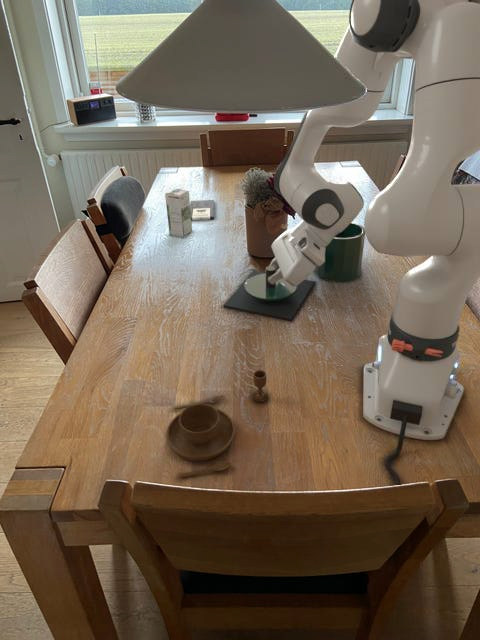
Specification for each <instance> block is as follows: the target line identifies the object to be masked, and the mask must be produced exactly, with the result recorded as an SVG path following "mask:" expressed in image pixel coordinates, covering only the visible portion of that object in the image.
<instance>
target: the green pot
mask: <svg viewBox="0 0 480 640" xmlns="http://www.w3.org/2000/svg"><path fill="white" fill-rule="evenodd" d="M365 238H366V233H365V228H364V225H361V224H359V223H358V222H357V223H356V222H354V221H352V222H351V223H350V224H349V225H348V226H347V227H346V228H345V229H344V230H343V231H342V232H340V233H339V234H337V235H336V236H335V237H334V238H333V239H332V241H331V242H330V244H329V245H327V246H326V247H325V248H326V250H325V262H324V263H323V264H322V265H321V266H317V265H316V268H315V270H314V273H315V274H316V275H317V277H319V278H321V279H323V280H326V281H329V282H349V281H353V280H355V279H357V278H358V277H359V276H361V271H362V264H363V256H364V249H365V247H364V246H365V240H366V239H365Z"/></svg>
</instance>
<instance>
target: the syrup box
mask: <svg viewBox="0 0 480 640" xmlns="http://www.w3.org/2000/svg"><path fill="white" fill-rule="evenodd" d="M164 197H165V206H166V214H167V215H166V216H167V223H168V233H169V236H174V237H179V238H185V237H186V236H187V235H189V234H190V233H191V232H193V226H192V220H191V211H190V204H191V199H190V191H189V190H187V189H184V188H173V189H171V190H170V191H168V192H165V194H164Z"/></svg>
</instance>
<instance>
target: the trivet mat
mask: <svg viewBox="0 0 480 640" xmlns="http://www.w3.org/2000/svg"><path fill="white" fill-rule="evenodd" d="M260 274H266V272H265V271H264V272H263V271H258V270H257V271H256V270H253V271H252V272H251V273H250V274H249V275H248V276H247V278H246V279H245V280H244V281H243V282H242V283H241V285H240V286H239V287H238V288H237V290H235V291H234V293H233V294H232V295H231V296H230V297H229V298H228V300H227V301H226V302H225V303H224V304H223V308H226V309H230V310H234V311H235V310H236V311H241V312H245V313H249V314H254V315H260V316H265V317H269V318H273V319H274V318H275V319H279V320H284V321H289V322H292V321H293V319H294V318H295V316H296V315H297V313H298V311H299V310H300V308H301V306H302V305H303V304H304V301H305V300H306V299H307V297H308V295H309V293H310V292H311V290H312V289H313V287H314V285H315V283H316V282H315V280H309V279H305V280H304V281H302V282H301V283H300V284H299V285H297V290H296V292H295V293H294V294H293V295H292V296H290V297H288V298H286V299H283V300H278V301H264V300H259V299H255V298H253V297H251V296H249V295H248V294H247V293H246V291H245V283H246V282H247V280H249V279H250V278H252V277H254V276H256V275H260Z"/></svg>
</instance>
